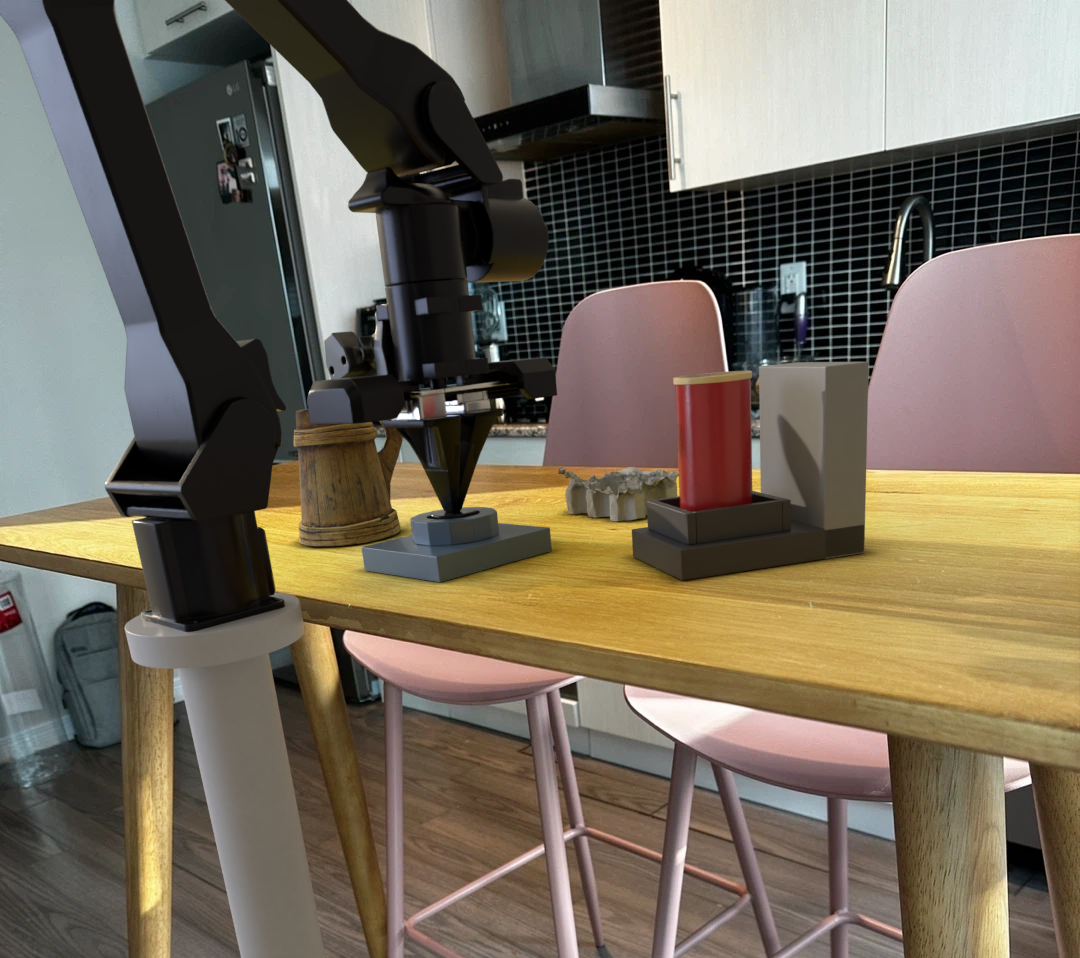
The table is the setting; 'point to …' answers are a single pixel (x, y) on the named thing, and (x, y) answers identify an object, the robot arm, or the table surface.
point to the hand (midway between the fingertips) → (452, 511)
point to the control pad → (455, 546)
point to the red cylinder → (714, 439)
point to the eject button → (453, 514)
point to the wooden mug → (345, 482)
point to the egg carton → (618, 493)
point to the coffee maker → (780, 483)
